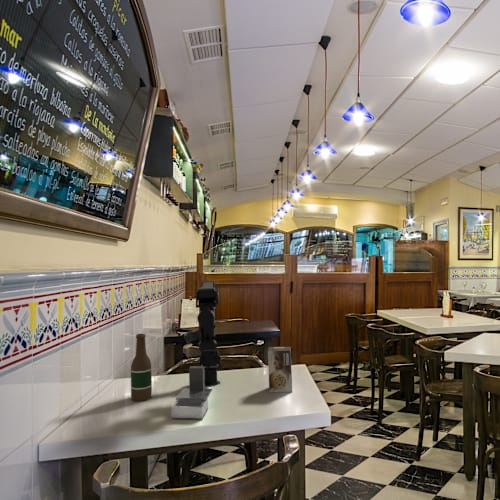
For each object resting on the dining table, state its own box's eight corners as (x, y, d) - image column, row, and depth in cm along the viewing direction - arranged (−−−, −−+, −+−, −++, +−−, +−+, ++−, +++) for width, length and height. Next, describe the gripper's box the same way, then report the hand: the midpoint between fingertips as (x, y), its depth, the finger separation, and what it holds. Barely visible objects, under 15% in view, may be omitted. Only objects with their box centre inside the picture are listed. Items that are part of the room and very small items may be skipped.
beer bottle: (146, 402, 136) (145, 336, 137) (126, 401, 137) (126, 336, 138) (155, 395, 143) (154, 332, 144) (137, 394, 145) (136, 332, 146)
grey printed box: (292, 387, 149) (291, 346, 149) (292, 392, 142) (291, 350, 143) (269, 386, 150) (268, 346, 150) (268, 392, 143) (267, 350, 144)
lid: (183, 390, 135) (183, 366, 136) (212, 390, 134) (211, 366, 135) (175, 399, 126) (175, 374, 126) (206, 400, 125) (206, 374, 125)
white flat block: (179, 408, 129) (179, 397, 129) (208, 409, 128) (207, 397, 128) (171, 419, 120) (171, 407, 120) (202, 420, 119) (201, 407, 119)
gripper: (186, 318, 146) (187, 358, 146) (183, 327, 128) (184, 373, 127) (214, 317, 148) (215, 356, 147) (216, 325, 129) (217, 371, 129)
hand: (208, 363), depth 138 cm, fingers open, 9 cm apart
